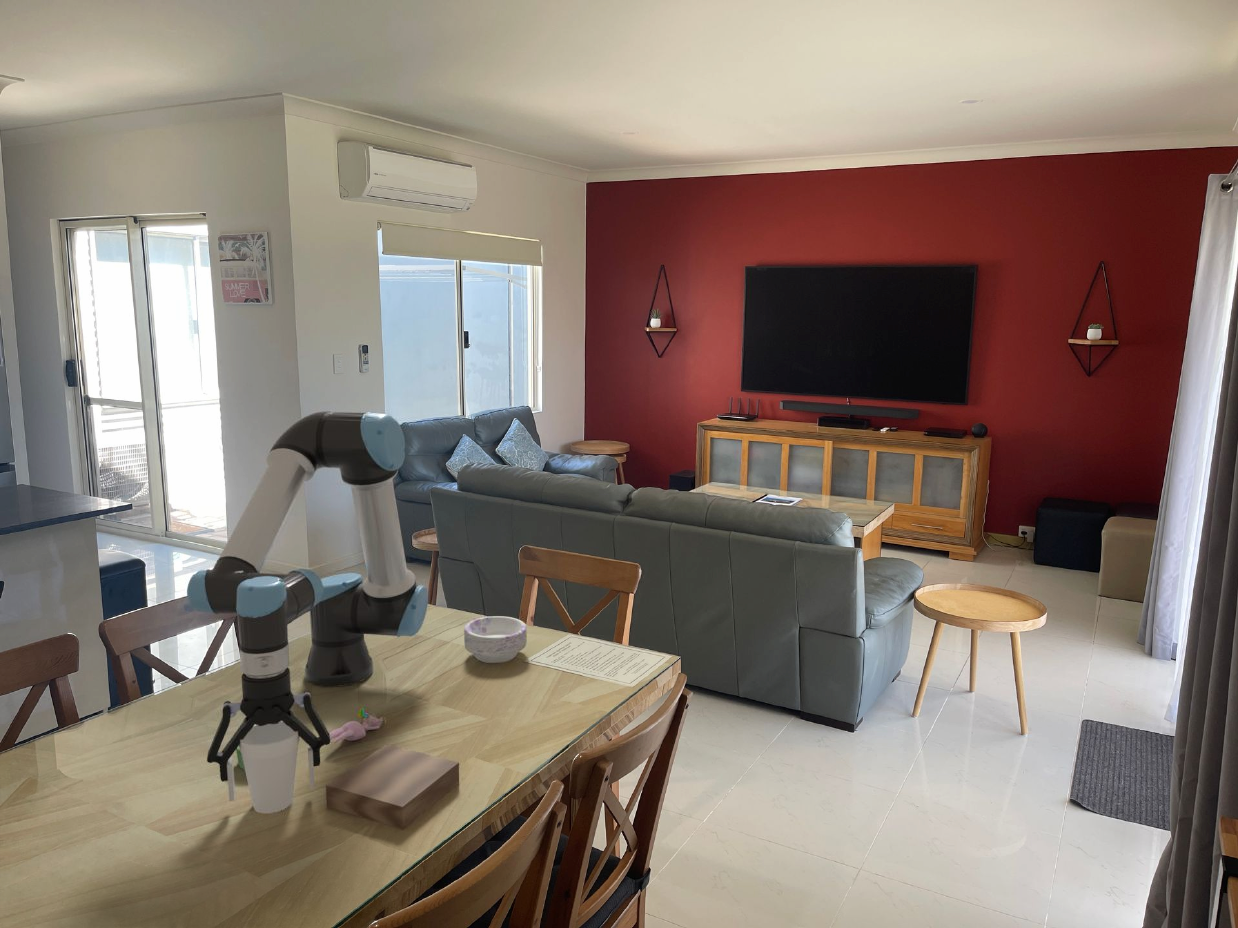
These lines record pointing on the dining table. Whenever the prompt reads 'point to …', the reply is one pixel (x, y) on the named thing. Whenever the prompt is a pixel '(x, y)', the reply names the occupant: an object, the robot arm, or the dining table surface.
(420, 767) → the walnut base
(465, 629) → the white bowl
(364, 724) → the rabbit figure
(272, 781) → the foam cup
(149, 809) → the dining table surface
